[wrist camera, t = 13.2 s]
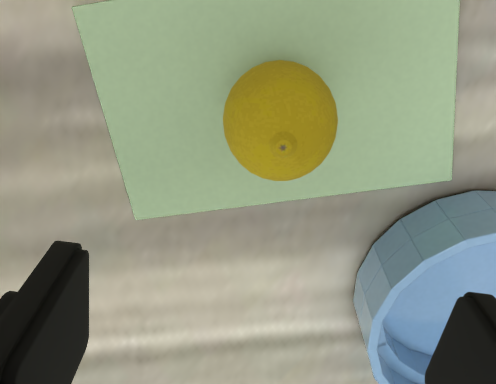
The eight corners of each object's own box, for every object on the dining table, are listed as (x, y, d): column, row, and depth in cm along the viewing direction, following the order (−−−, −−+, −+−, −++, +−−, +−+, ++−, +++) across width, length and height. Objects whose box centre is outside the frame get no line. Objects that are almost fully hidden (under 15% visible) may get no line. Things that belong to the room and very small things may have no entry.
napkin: (136, 218, 30) (135, 220, 29) (73, 6, 24) (71, 7, 24) (450, 178, 28) (451, 180, 28) (460, -60, 22) (462, -60, 22)
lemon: (318, 38, 24) (342, 66, 17) (331, 135, 27) (358, 196, 19) (217, 60, 25) (200, 96, 18) (239, 153, 27) (232, 218, 20)
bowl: (319, 336, 34) (328, 392, 29) (419, 156, 27) (450, 192, 23) (498, 387, 36) (532, 447, 31) (630, 231, 29) (697, 278, 25)
